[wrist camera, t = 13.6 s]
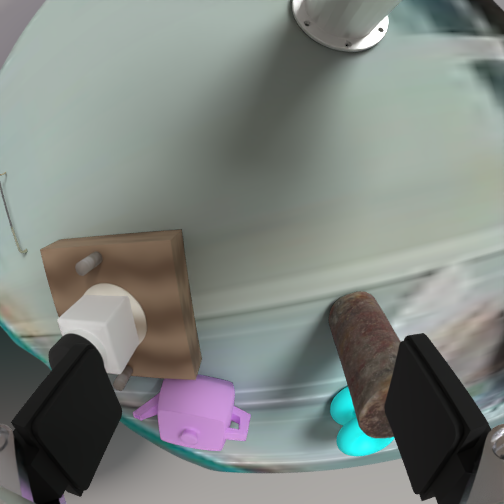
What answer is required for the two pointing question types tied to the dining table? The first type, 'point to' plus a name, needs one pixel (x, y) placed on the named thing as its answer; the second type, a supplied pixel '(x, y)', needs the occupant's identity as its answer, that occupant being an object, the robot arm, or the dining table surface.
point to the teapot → (196, 413)
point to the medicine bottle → (99, 330)
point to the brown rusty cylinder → (365, 357)
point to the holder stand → (134, 294)
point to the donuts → (353, 428)
